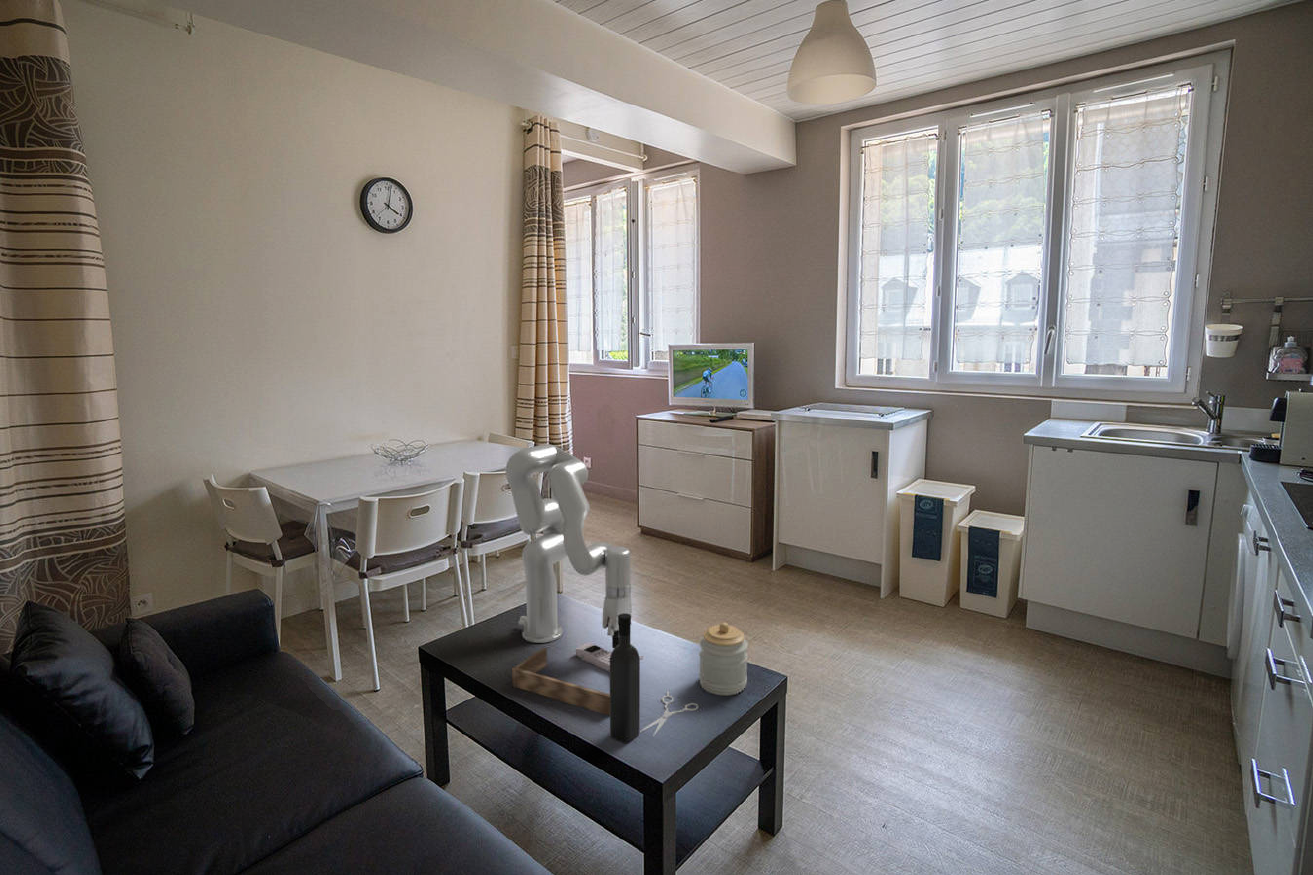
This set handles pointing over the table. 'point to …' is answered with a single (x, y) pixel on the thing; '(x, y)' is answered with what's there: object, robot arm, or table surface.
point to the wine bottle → (624, 685)
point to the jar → (723, 660)
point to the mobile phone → (595, 655)
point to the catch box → (557, 685)
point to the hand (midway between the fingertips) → (618, 647)
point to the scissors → (668, 713)
